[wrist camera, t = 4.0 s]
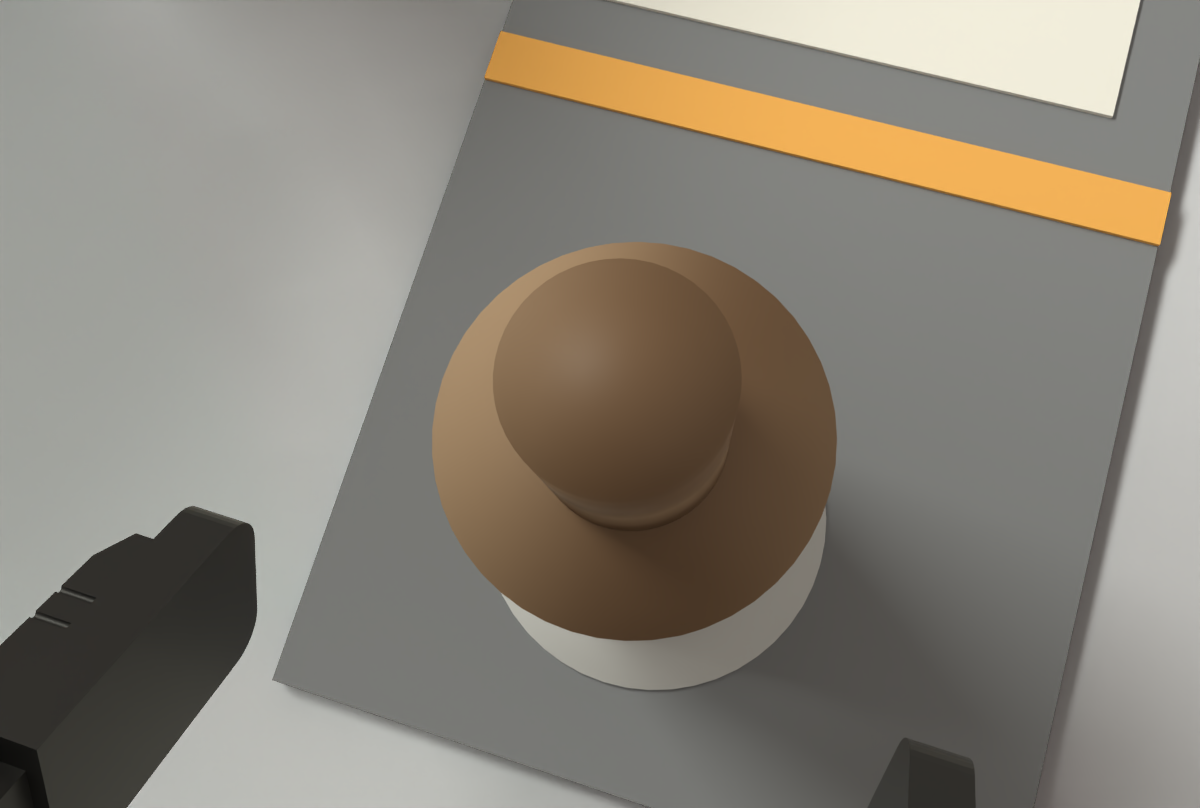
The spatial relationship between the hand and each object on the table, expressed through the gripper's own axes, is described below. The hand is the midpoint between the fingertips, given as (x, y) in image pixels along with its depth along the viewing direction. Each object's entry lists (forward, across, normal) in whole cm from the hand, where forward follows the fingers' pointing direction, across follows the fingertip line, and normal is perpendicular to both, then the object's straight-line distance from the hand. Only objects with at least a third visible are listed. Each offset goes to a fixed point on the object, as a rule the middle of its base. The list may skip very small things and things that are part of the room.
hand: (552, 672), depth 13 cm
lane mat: (+14, -1, 0) cm, 14 cm away
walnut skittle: (+8, 0, +4) cm, 9 cm away
